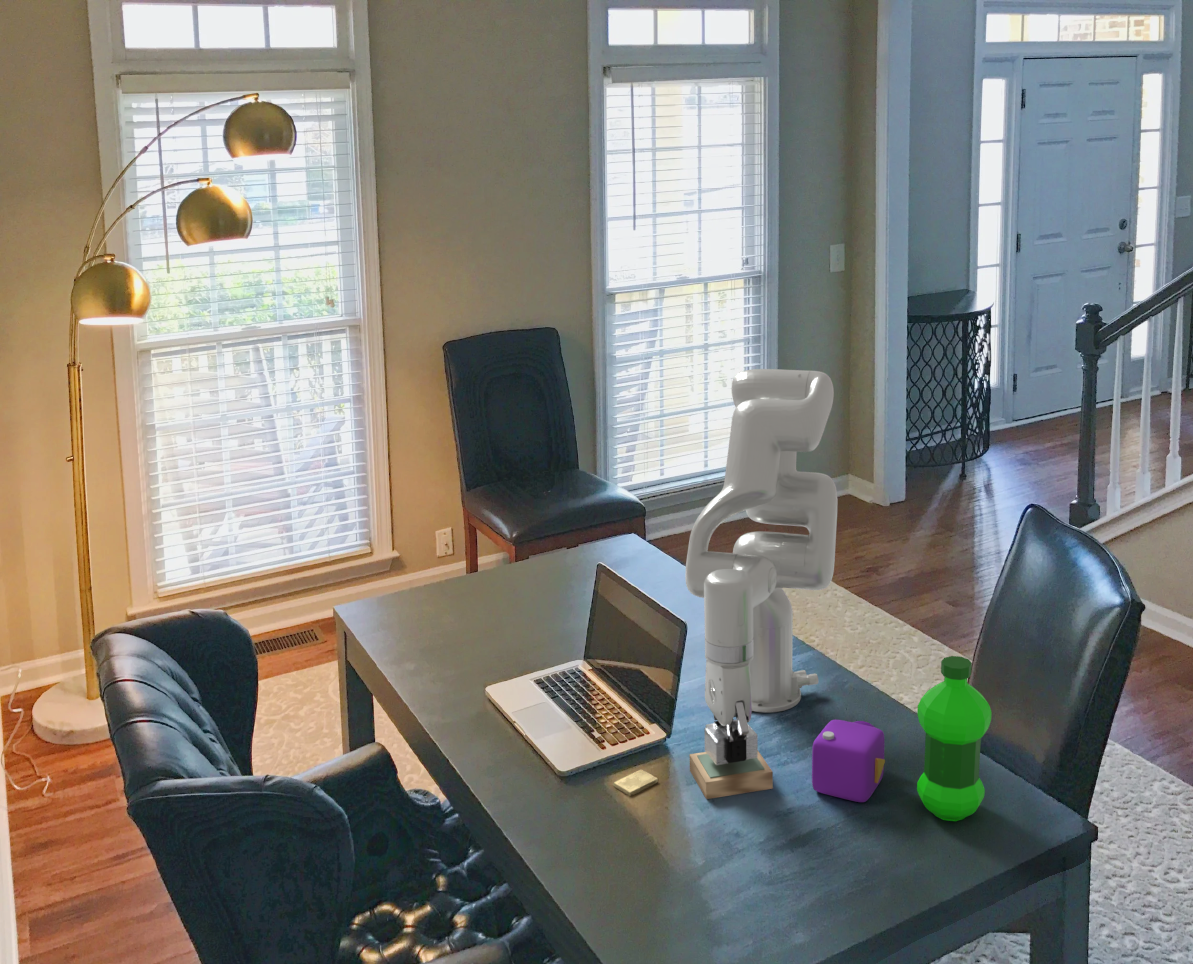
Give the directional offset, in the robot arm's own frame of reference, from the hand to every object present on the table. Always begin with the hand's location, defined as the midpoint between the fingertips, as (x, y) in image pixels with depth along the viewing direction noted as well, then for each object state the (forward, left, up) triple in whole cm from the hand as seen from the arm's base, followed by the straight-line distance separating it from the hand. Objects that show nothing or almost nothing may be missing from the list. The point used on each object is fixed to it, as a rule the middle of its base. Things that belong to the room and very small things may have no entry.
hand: (730, 750), depth 204 cm
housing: (0, 0, -1) cm, 1 cm away
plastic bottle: (-29, +18, -5) cm, 35 cm away
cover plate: (+15, -3, -6) cm, 16 cm away
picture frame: (0, 0, -5) cm, 5 cm away
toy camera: (-18, +6, -6) cm, 20 cm away
